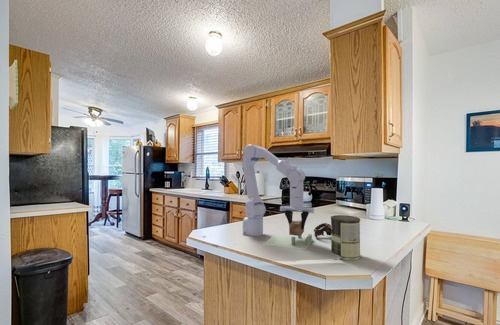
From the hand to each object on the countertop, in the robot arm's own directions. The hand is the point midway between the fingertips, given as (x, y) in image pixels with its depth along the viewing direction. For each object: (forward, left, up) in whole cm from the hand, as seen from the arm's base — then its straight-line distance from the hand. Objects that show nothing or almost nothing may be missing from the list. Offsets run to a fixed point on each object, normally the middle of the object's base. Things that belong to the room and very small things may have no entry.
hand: (296, 228), depth 107 cm
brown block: (0, 0, -2) cm, 2 cm away
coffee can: (+20, -7, -7) cm, 22 cm away
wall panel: (-3, -2, -7) cm, 8 cm away
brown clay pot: (+10, +15, -7) cm, 20 cm away
